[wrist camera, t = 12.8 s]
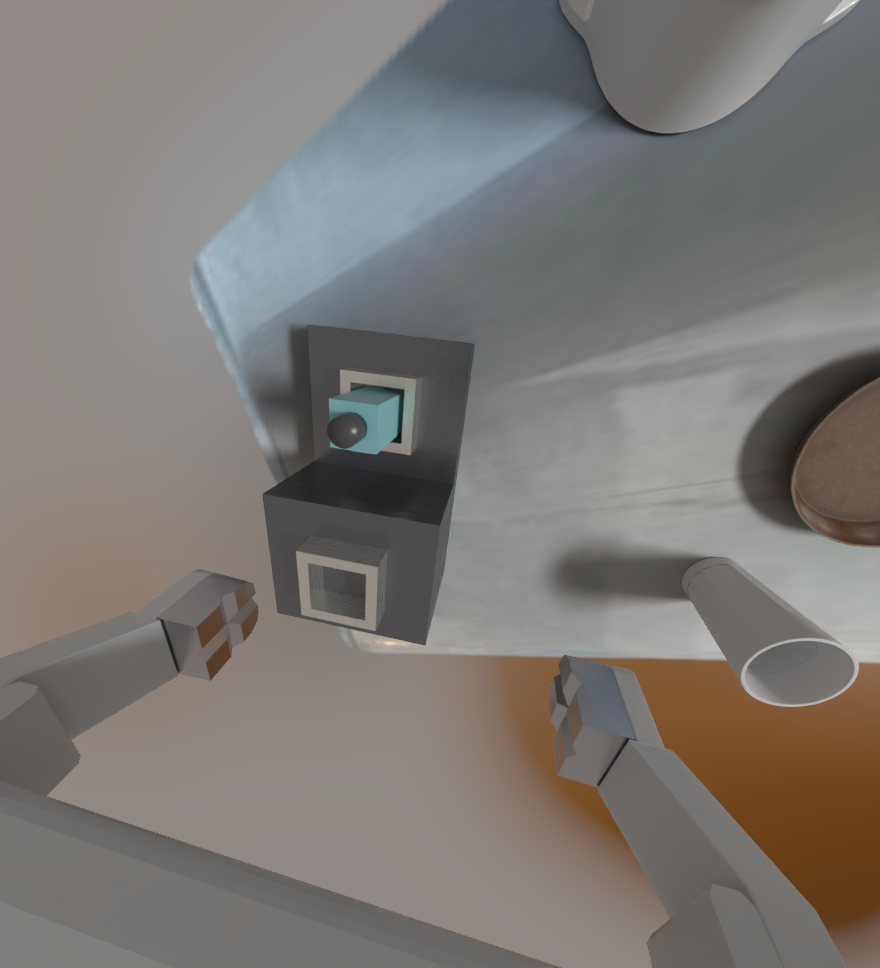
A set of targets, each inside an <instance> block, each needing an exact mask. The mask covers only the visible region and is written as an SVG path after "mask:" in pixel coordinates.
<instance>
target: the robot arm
mask: <svg viewBox="0 0 880 968" xmlns="http://www.w3.org/2000/svg"><path fill="white" fill-rule="evenodd" d="M859 1H860V0H559V3H560V7H561V10H562V12H563V14H564V15H565V17H566V18H567V20H568V21H569V22H570V24H571V25H572V26H573V27H574V28H575V30H576V31H577V32H578V33H579V34H580V35H581V36H582V37H583V38H584V40H585V42H586V44H587V47H588V50H589V53H590V56H591V60H592V64H593V67H594V71H595V74H596V77H597V80H598V83H599V85H600V87H601V90H602V91H603V93H604V95H605V97H606V98H607V100H608V102H609V103H610V104H611V106H612V107H613V108H614V109H615V110H616V111H617V112H618V113H619V114H620V115H621V116H622V117H623V118H624V119H625V120H627V121H628V122H630V123H631V124H633V125H635V126H637V127H639V128H642V129H644V130H648V131H651V132H657V133H681V132H687V131H691V130H695V129H698V128H701V127H704V126H706V125H709V124H711V123H713V122H715V121H717V120H719V119H721V118H723V117H725V116H726V115H728V114H730V113H731V112H733V111H734V110H736V109H737V108H739V107H740V106H741V105H743V104H744V103H745V102H747V101H748V100H749V99H750V98H752V97H753V96H754V95H755V94H756V93H757V92H758V91H759V90H760V89H762V88H763V87H764V86H765V85H766V84H767V83H768V82H769V81H770V79H771V78H772V77H773V76H774V75H775V74H776V73H777V72H778V71H779V69H780V68H781V67H782V66H783V65H784V64H785V63H786V61H787V60H788V59H789V58H790V57H791V56H792V55H793V54H794V53H795V52H796V51H797V50H798V49H799V48H800V47H801V46H802V45H803V44H804V43H805V42H806V41H808V40H810V39H811V38H813V37H814V36H816V35H818V34H819V33H821V32H822V31H824V30H825V29H827V28H829V27H830V26H832V25H833V24H834V23H836V22H837V21H839V20H840V19H841V18H843V17H844V16H845V15H846V14H848V13H849V12H850V11H851V10H852V9H853V8H854V7H855V6H856V5H857V3H858V2H859ZM255 593H256V592H255V588H254V584H253V583H251V582H247V581H244V580H240V579H236V578H233V577H229V576H225V575H221V574H217V573H213V572H209V571H205V570H201V569H198V570H195V571H191V572H190V573H189V574H187V575H186V576H185V577H183V578H182V579H181V580H179V581H178V582H176V583H175V584H174V585H173V586H171V587H170V588H168V589H167V590H166V591H164V592H163V593H162V594H160V595H159V596H158V597H156V598H155V599H154V600H152V601H151V602H150V603H148V604H147V605H146V606H144V607H143V608H142V609H140V610H139V611H137V612H136V613H132V612H128V613H125V614H123V615H120V616H117V617H114V618H111V619H109V620H106V621H103V622H100V623H97V624H95V625H92V626H89V627H86V628H84V629H81V630H79V631H75V632H72V633H70V634H67V635H64V636H62V637H58V638H56V639H53V640H50V641H47V642H44V643H42V644H39V645H36V646H33V647H31V648H28V649H25V650H23V651H20V652H17V653H14V654H11V655H8V656H5V657H3V658H0V968H561V967H558V966H554V965H552V964H549V963H546V962H542V961H539V960H537V959H534V958H531V957H528V956H525V955H521V954H519V953H516V952H513V951H509V950H506V949H504V948H500V947H497V946H495V945H492V944H488V943H486V942H483V941H479V940H476V939H474V938H471V937H468V936H464V935H462V934H459V933H456V932H453V931H449V930H446V929H443V928H441V927H438V926H435V925H432V924H429V923H425V922H422V921H420V920H416V919H413V918H411V917H407V916H404V915H401V914H398V913H395V912H393V911H390V910H387V909H384V908H380V907H377V906H375V905H372V904H369V903H366V902H363V901H360V900H356V899H353V898H350V897H347V896H344V895H341V894H338V893H335V892H332V891H329V890H326V889H323V888H320V887H317V886H314V885H311V884H308V883H305V882H302V881H299V880H296V879H293V878H290V877H287V876H284V875H281V874H278V873H275V872H272V871H269V870H266V869H263V868H260V867H257V866H254V865H251V864H248V863H245V862H242V861H239V860H236V859H233V858H230V857H227V856H224V855H221V854H218V853H215V852H212V851H209V850H206V849H203V848H200V847H197V846H194V845H191V844H188V843H185V842H182V841H179V840H176V839H173V838H170V837H167V836H164V835H161V834H158V833H155V832H152V831H149V830H146V829H143V828H140V827H137V826H134V825H131V824H128V823H125V822H122V821H119V820H116V819H113V818H110V817H107V816H104V815H101V814H98V813H95V812H92V811H89V810H86V809H83V808H80V807H77V806H74V805H71V804H68V803H65V802H62V801H59V800H56V799H53V798H50V797H47V795H48V794H49V793H50V792H51V791H52V790H53V789H54V788H55V787H56V786H57V785H58V784H59V783H60V781H62V779H64V778H65V777H66V775H68V773H69V772H70V771H71V770H72V769H73V768H74V767H75V766H76V765H77V764H78V763H79V760H80V756H81V755H80V753H79V752H78V750H77V749H76V747H75V745H74V744H73V742H72V739H73V738H75V737H76V736H78V735H80V734H82V733H83V732H85V731H86V730H88V729H90V728H91V727H93V726H95V725H97V724H98V723H100V722H102V721H103V720H105V719H106V718H108V717H110V716H112V715H113V714H115V713H117V712H118V711H120V710H121V709H123V708H125V707H126V706H128V705H130V704H131V703H133V702H135V701H136V700H138V699H140V698H141V697H143V696H145V695H146V694H148V693H150V692H151V691H153V690H155V689H156V688H158V687H159V686H161V685H163V684H165V683H166V682H168V681H170V680H171V679H173V678H175V677H176V676H178V673H180V674H184V675H188V676H193V677H197V678H201V679H205V680H209V681H210V680H212V679H213V677H214V676H215V675H216V674H217V673H218V672H219V670H220V669H221V668H222V667H223V666H224V665H225V663H226V662H227V661H228V660H229V658H231V654H232V648H233V647H235V646H237V645H239V644H241V643H242V642H244V641H245V640H246V639H247V637H248V636H249V635H250V634H251V633H252V630H253V629H254V627H255V624H256V622H257V619H258V606H257V604H256V603H255V602H254V601H253V599H252V597H253V596H254V594H255ZM559 669H560V674H559V675H557V676H555V677H554V678H553V681H552V683H551V686H550V693H549V713H550V720H551V721H552V723H553V725H554V726H555V727H556V729H557V733H556V735H555V737H554V740H553V746H554V754H555V761H556V769H557V775H559V776H562V777H565V778H568V779H572V780H575V781H578V782H581V783H585V784H588V785H592V786H595V787H598V789H597V791H598V792H599V794H600V795H601V798H602V799H603V801H604V803H605V805H606V806H607V808H608V810H609V812H610V813H611V815H612V817H613V818H614V820H615V822H616V824H617V826H618V827H619V829H620V831H621V833H622V834H623V836H624V838H625V839H626V841H627V843H628V845H629V847H630V848H631V850H632V852H633V854H634V855H635V857H636V859H637V861H638V862H639V864H640V866H641V868H642V869H643V871H644V873H645V875H646V876H647V878H648V880H649V882H650V883H651V885H652V887H653V889H654V891H655V892H656V894H657V896H658V898H659V899H660V901H661V903H662V905H663V906H664V908H665V910H666V912H667V913H668V915H669V917H670V920H668V921H667V922H666V923H665V924H663V925H662V926H661V927H660V928H659V929H658V930H656V931H655V932H654V933H652V935H651V937H650V938H649V940H648V941H647V945H648V950H649V954H650V958H651V963H652V967H653V968H847V967H846V965H845V963H844V961H843V959H842V958H841V956H840V954H839V952H838V950H837V948H836V947H835V945H834V943H833V941H832V939H831V937H830V936H829V934H828V932H827V930H826V928H825V926H824V925H823V923H822V921H821V920H820V917H819V915H818V914H817V912H816V911H815V909H814V908H813V907H812V906H811V905H810V904H809V903H808V902H807V900H806V899H805V898H804V897H803V896H802V895H801V894H800V893H799V892H798V891H797V889H796V888H795V887H794V886H793V885H792V884H791V883H790V881H789V880H788V879H787V878H786V877H785V876H784V875H783V874H782V873H781V871H780V870H779V869H778V868H777V867H776V866H775V865H774V864H773V862H772V861H771V860H770V859H769V858H768V857H767V856H766V855H765V854H764V852H762V850H761V849H760V848H759V847H758V846H757V845H756V844H755V842H754V841H753V840H752V839H751V838H750V837H749V836H748V834H747V833H746V832H745V831H744V830H743V829H742V828H741V827H740V826H739V824H738V823H737V822H736V821H735V820H734V819H733V818H732V817H731V815H730V814H729V813H728V812H727V811H726V810H725V809H724V808H723V807H722V805H721V804H720V803H719V802H718V801H717V800H716V799H715V798H714V797H713V795H712V794H711V793H710V792H709V791H708V790H707V789H706V788H705V786H704V785H703V784H702V783H701V782H700V781H699V780H698V779H697V778H696V777H695V775H694V774H693V773H692V772H691V771H690V770H689V769H688V767H686V765H685V764H684V763H683V762H682V761H681V760H680V758H679V757H678V756H677V755H676V754H675V753H674V752H673V751H672V750H669V749H665V748H664V745H663V743H662V740H661V738H660V735H659V733H658V730H657V728H656V725H655V723H654V720H653V718H652V716H651V713H650V710H649V708H648V705H647V703H646V700H645V698H644V695H643V693H642V690H641V688H640V685H639V683H638V680H637V678H636V675H635V674H634V673H633V672H632V670H629V669H624V668H620V667H615V666H611V665H607V664H604V663H599V662H595V661H590V660H586V659H581V658H577V657H572V656H568V655H564V656H563V657H562V659H561V661H560V663H559Z"/></svg>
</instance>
